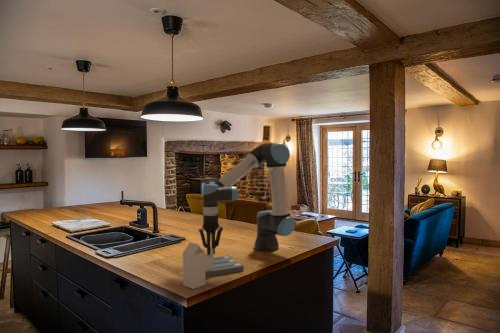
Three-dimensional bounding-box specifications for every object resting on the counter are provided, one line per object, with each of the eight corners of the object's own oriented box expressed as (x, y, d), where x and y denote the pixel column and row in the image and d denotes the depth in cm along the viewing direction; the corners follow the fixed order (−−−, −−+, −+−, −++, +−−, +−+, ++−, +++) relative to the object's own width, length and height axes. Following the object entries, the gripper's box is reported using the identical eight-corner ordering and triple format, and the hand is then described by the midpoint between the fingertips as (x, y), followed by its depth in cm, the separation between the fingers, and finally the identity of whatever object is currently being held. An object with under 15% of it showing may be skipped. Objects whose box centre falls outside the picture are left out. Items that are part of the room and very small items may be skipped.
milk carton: (193, 289, 153) (192, 246, 153) (183, 285, 158) (182, 243, 157) (205, 284, 159) (205, 243, 158) (195, 281, 163) (194, 240, 163)
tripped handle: (207, 263, 181) (207, 253, 181) (209, 265, 178) (209, 254, 177) (199, 264, 179) (199, 254, 179) (202, 266, 176) (202, 255, 176)
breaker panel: (227, 259, 195) (227, 246, 195) (243, 270, 177) (243, 255, 177) (185, 266, 184) (185, 252, 184) (197, 278, 166) (197, 263, 166)
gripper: (200, 216, 173) (201, 264, 173) (225, 214, 179) (225, 260, 179) (195, 214, 179) (196, 260, 180) (219, 212, 185) (220, 256, 186)
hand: (211, 260), depth 180 cm, fingers closed
